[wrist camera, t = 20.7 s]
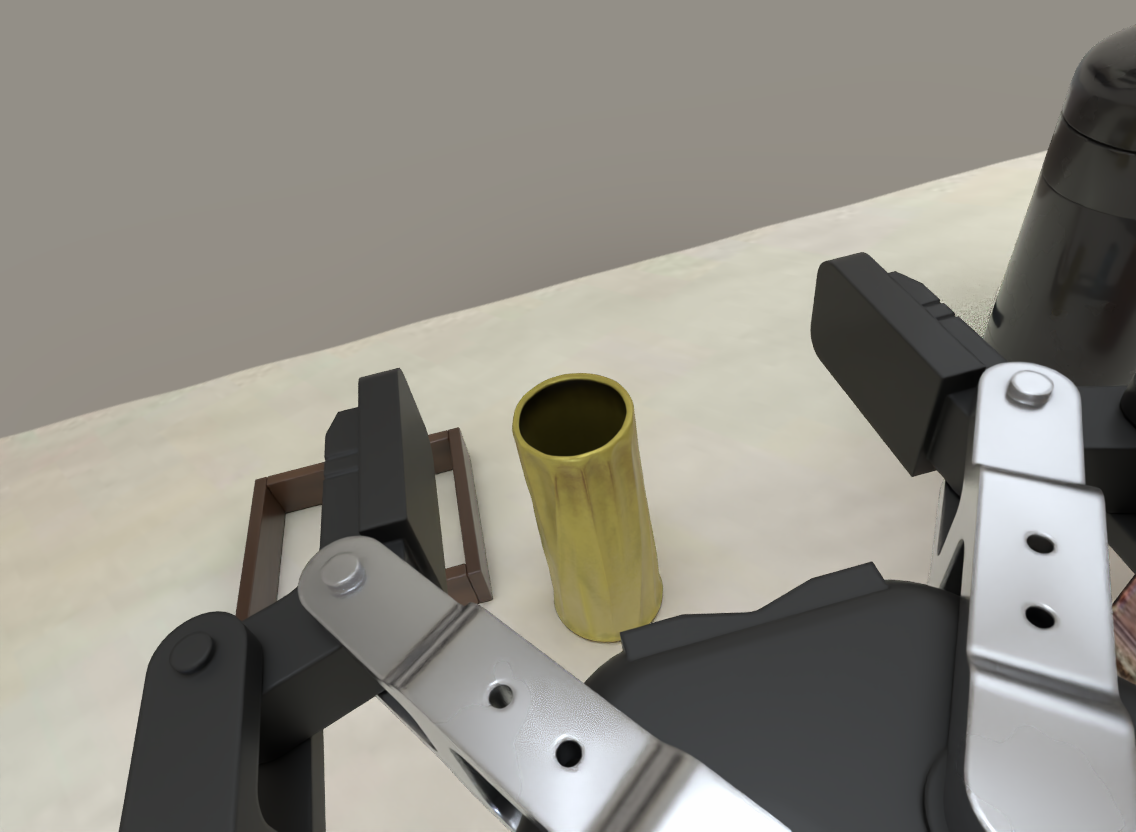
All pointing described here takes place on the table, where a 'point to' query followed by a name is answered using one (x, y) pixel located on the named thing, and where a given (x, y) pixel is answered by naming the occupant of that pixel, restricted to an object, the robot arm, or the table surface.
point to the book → (1125, 632)
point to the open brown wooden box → (307, 491)
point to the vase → (590, 503)
